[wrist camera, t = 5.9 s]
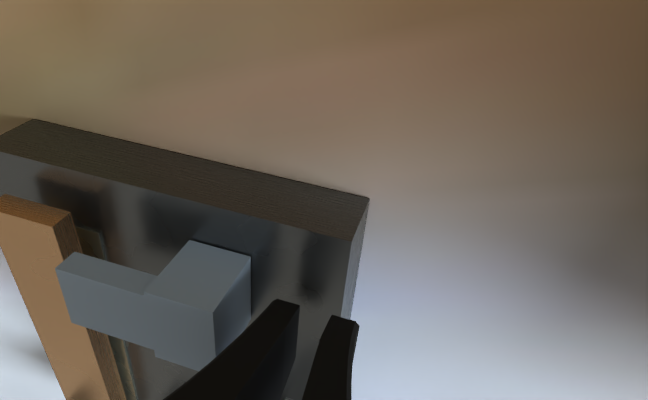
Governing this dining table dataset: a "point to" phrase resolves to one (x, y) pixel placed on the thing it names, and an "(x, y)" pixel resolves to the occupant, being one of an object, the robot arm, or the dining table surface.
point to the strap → (55, 298)
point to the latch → (164, 301)
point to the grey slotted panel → (193, 230)
